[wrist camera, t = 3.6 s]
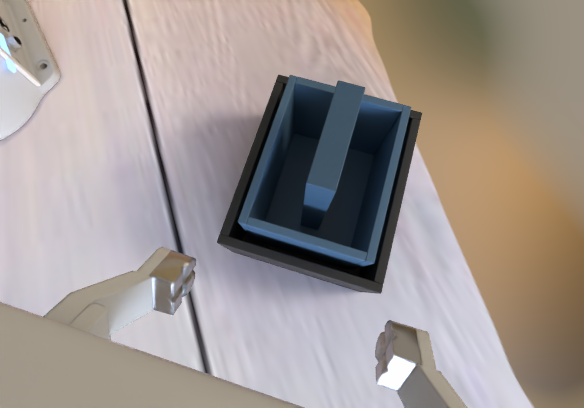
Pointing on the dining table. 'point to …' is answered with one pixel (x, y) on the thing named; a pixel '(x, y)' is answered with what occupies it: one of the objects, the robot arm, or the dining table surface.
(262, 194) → the caddy
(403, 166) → the tote
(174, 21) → the dining table surface
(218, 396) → the robot arm
